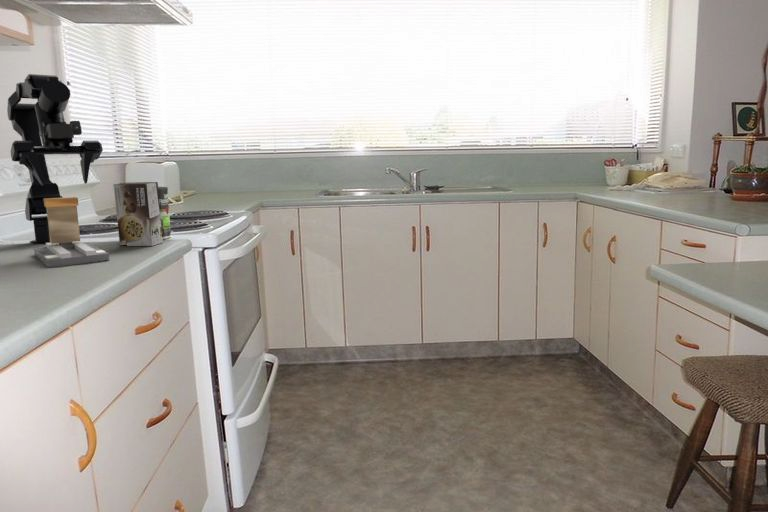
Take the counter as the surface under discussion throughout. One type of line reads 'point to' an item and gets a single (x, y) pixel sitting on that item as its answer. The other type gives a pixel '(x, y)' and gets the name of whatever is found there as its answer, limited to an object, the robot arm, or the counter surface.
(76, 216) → the block
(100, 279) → the counter surface
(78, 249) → the fader deck
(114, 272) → the counter surface
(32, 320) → the counter surface
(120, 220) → the grey printed cardboard box
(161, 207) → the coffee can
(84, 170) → the robot arm
